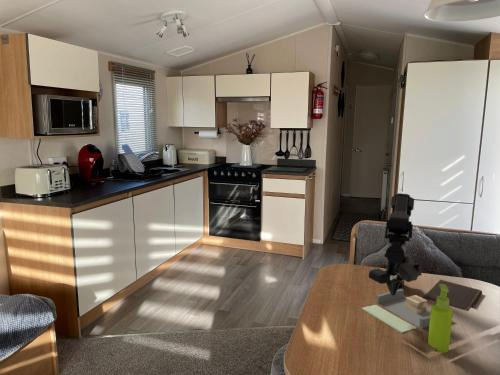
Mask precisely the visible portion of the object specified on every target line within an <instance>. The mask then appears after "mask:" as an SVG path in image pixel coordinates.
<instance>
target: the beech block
mask: <svg viewBox="0 0 500 375" xmlns="http://www.w3.org/2000/svg"><path fill="white" fill-rule="evenodd" d="M405 298H406V305H405V308H407V309H409V310H411V311H412V312H414V313H416V314H418V313H421V312H424V311H426V309H427V307H428V299H427V300H426V298H423V297H421V296H419V295H416V294H415V295H410V296H406V297H405Z"/></svg>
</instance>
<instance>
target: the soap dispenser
mask: <svg viewBox="0 0 500 375" xmlns="http://www.w3.org/2000/svg"><path fill="white" fill-rule="evenodd" d="M439 286H440V289H441V293H440V296H438V297H437V301H435V302H436V304H434V305H431V307H430V311H431V315H430V324H429V326H428V336H427V337H428V338H427V343H428V345H429V346H430V347H431V348H433V349H435V350H433V351H434V352H436V353H440V354H441V353H442V354H444V353H445V354H446V353H447V352H449V348H450V342H451V341H450V339H451V332H452V323H453V314H454V311H453V309H452V308H450V307H449V298H447V292H448V288H447V286H446V285H445V284H439Z"/></svg>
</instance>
